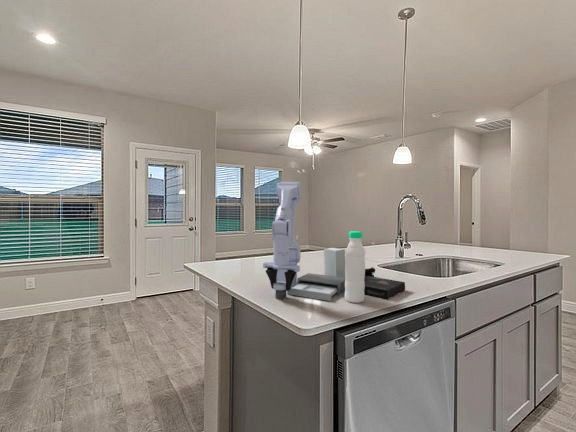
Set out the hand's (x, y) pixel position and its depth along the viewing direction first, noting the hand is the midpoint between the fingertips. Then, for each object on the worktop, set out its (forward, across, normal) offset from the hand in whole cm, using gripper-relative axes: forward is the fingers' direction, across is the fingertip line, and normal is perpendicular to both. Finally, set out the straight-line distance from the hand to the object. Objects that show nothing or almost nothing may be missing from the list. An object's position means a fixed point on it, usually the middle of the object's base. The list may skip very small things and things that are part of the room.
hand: (280, 289), depth 118 cm
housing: (+3, +9, +19) cm, 21 cm away
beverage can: (+4, +18, +42) cm, 46 cm away
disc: (0, 0, 0) cm, 0 cm away
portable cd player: (+4, +29, +27) cm, 40 cm away
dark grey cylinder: (+3, 0, 0) cm, 3 cm away
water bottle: (+3, +25, +10) cm, 27 cm away
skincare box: (+3, +9, +33) cm, 34 cm away
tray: (+3, +9, +10) cm, 14 cm away
